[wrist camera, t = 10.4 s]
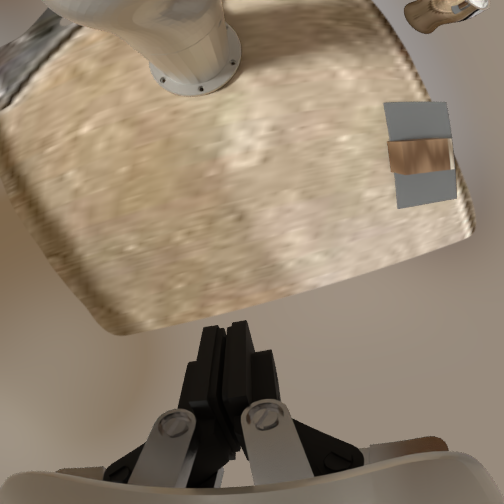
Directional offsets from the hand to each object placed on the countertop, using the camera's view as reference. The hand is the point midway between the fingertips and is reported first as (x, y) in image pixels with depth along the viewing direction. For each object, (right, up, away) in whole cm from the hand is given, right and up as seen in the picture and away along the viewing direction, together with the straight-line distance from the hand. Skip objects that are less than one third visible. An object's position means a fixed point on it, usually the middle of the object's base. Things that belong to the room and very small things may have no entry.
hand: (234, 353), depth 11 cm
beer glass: (+27, +41, +20) cm, 54 cm away
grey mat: (+27, +19, +28) cm, 43 cm away
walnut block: (+20, +17, +26) cm, 37 cm away
